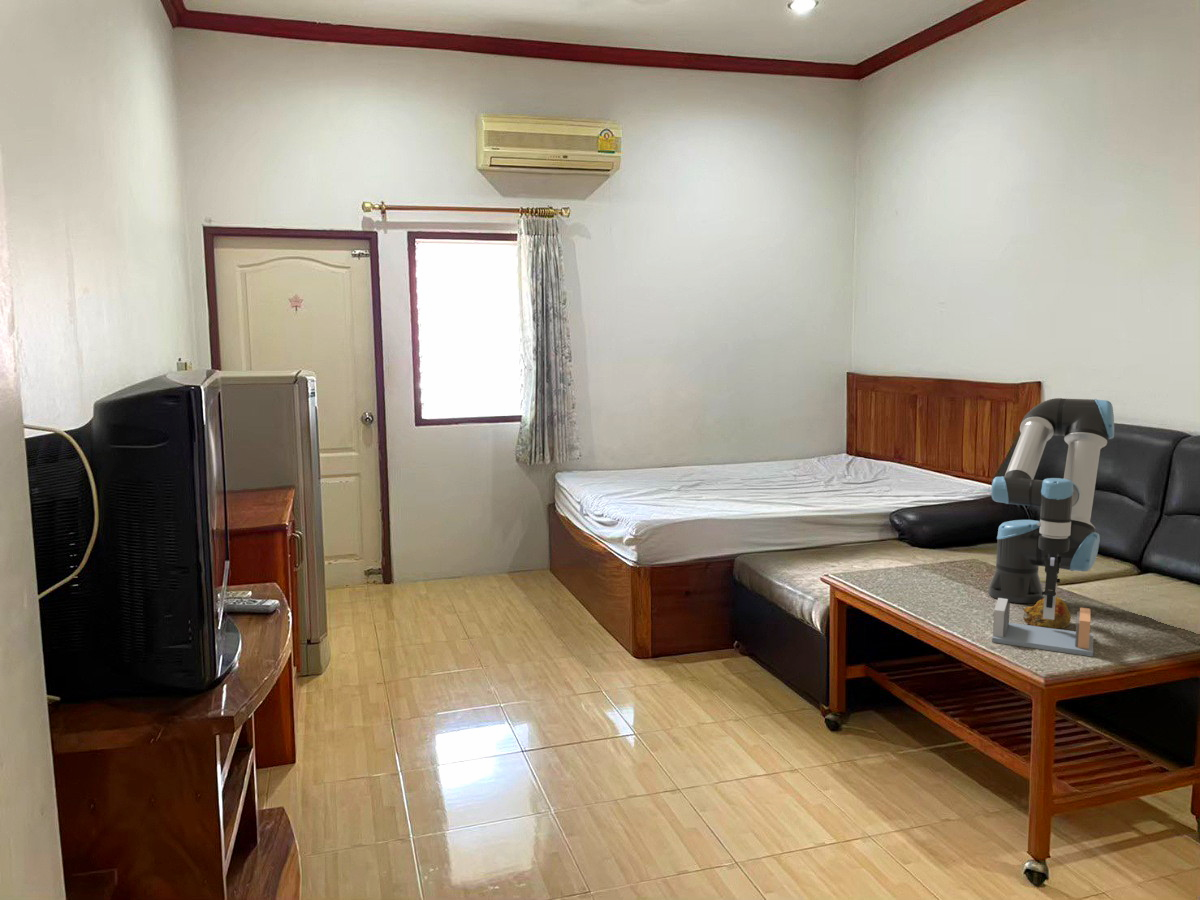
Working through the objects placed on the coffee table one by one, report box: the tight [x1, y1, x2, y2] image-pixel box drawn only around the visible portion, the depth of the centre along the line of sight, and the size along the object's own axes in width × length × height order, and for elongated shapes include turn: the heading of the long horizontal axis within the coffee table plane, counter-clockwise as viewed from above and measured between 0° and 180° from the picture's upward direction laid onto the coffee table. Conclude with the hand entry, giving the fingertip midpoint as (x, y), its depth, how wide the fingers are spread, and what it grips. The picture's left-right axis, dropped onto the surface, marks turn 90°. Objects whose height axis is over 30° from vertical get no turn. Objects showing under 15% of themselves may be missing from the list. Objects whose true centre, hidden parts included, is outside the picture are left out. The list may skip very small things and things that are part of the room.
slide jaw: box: [1075, 607, 1091, 649], centre depth 229 cm, size 12×3×7 cm, turn 152°
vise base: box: [991, 598, 1094, 657], centre depth 233 cm, size 15×23×8 cm, turn 62°
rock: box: [1022, 596, 1072, 630], centre depth 245 cm, size 11×8×10 cm
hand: (1049, 612), depth 245 cm, fingers open, 13 cm apart
